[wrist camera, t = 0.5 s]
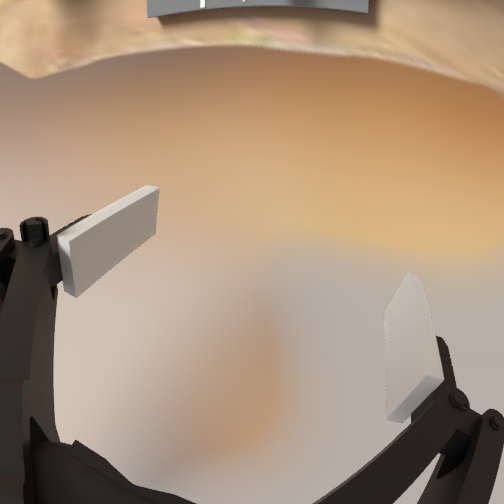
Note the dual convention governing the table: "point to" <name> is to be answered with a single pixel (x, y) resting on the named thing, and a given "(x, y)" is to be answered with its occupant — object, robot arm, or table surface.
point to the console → (250, 5)
